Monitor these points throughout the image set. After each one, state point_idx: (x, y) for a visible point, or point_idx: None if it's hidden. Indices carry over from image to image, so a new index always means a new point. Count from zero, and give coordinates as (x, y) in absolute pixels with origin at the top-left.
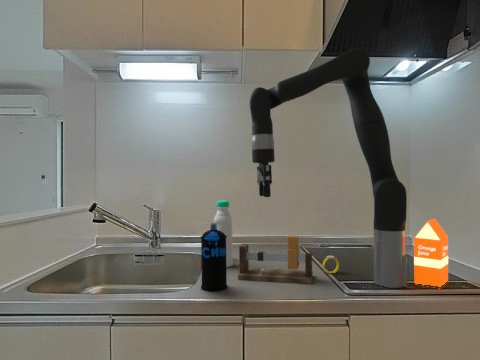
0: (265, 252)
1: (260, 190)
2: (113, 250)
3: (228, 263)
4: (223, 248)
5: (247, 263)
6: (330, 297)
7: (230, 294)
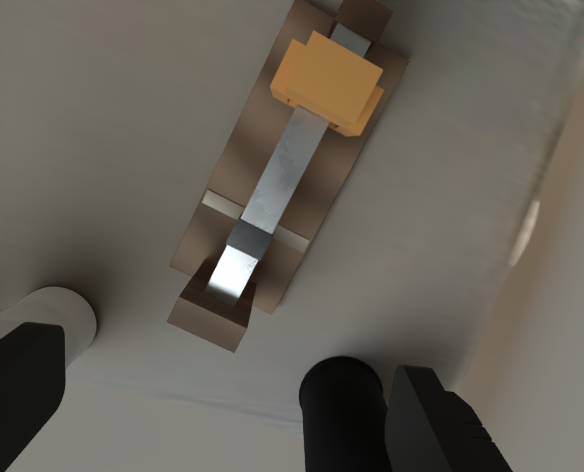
0: (249, 217)
1: (12, 447)
2: None
3: (87, 313)
4: None
5: None
6: (566, 66)
7: (423, 361)
